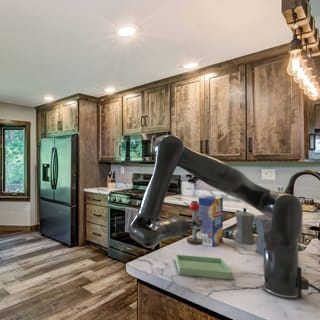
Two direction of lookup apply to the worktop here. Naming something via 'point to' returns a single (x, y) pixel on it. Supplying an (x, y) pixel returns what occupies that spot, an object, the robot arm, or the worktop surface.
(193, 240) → the red topped grey rod
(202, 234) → the juice carton
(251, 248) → the worktop surface
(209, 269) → the serving tray
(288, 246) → the robot arm
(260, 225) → the moka pot
